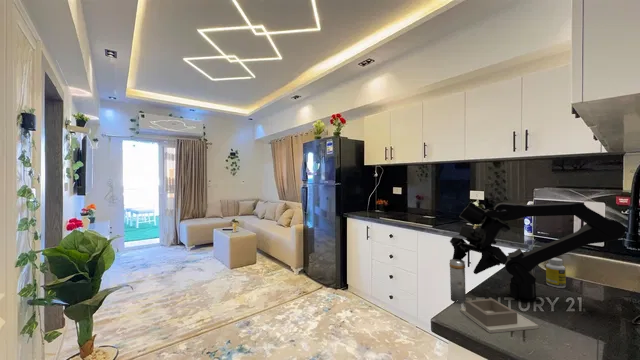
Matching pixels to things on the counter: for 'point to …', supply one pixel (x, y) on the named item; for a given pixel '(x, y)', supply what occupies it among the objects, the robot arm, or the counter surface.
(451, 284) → the grey metal tumbler
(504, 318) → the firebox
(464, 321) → the counter surface
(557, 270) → the supplement bottle
